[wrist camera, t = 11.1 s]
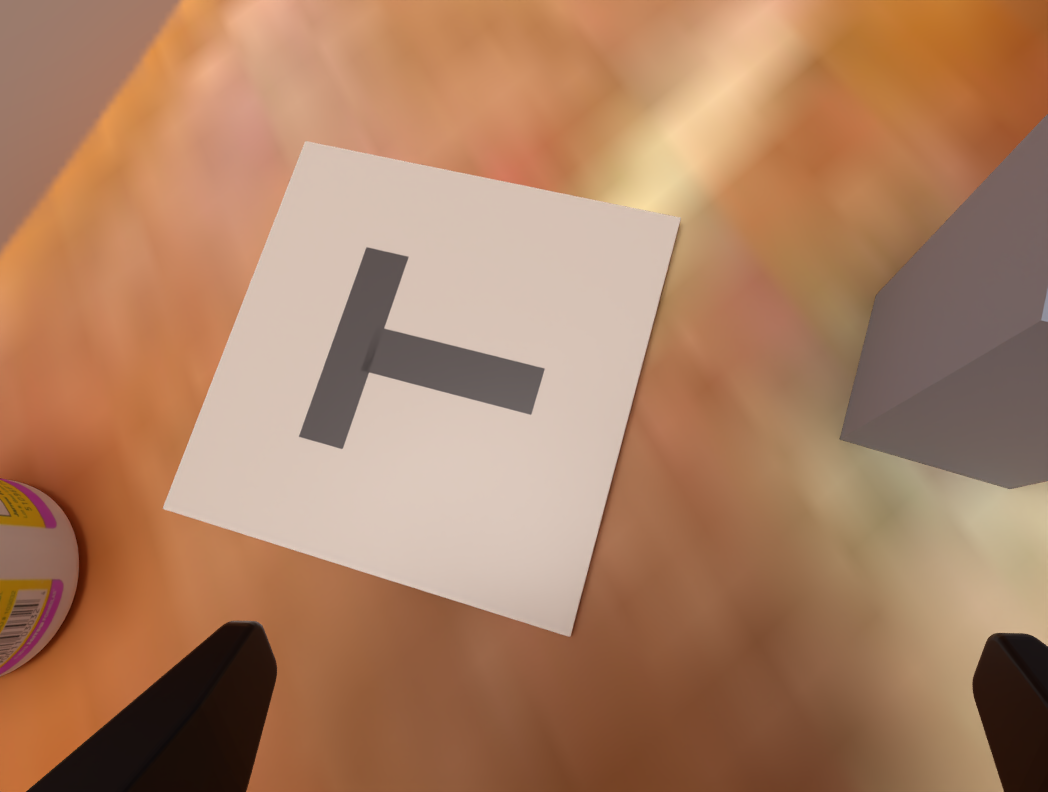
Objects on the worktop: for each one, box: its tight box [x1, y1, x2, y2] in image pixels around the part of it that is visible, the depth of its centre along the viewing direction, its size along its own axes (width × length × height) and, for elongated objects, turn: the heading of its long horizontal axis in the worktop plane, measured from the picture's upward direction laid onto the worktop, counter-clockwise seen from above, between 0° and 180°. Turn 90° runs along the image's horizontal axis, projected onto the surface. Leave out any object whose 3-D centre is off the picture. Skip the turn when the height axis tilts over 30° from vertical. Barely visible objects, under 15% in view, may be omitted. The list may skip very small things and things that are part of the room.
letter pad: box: [163, 141, 681, 637], centre depth 24 cm, size 14×14×1 cm
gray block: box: [840, 114, 1048, 489], centre depth 17 cm, size 5×5×11 cm
